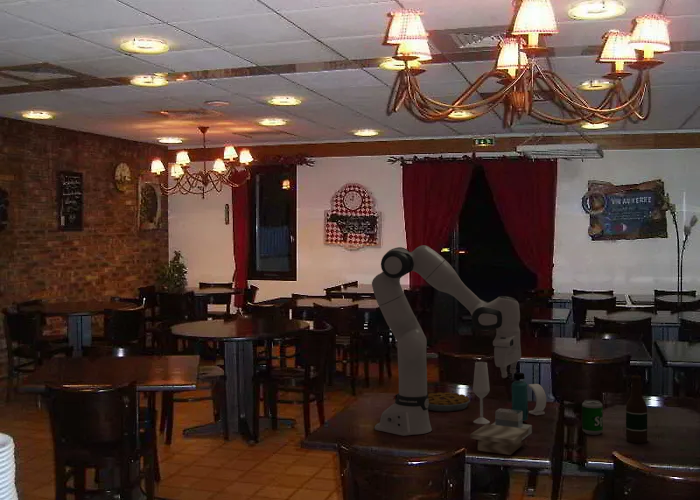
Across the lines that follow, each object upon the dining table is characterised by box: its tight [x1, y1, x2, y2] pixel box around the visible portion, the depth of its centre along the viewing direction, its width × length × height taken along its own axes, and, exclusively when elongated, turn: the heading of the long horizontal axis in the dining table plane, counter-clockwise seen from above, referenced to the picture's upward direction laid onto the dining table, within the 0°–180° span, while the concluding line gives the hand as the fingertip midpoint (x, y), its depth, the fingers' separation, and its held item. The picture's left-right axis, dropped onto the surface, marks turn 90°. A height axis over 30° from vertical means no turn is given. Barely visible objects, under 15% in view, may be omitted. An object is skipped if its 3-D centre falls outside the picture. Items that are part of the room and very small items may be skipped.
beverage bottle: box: [511, 372, 529, 421], centre depth 317 cm, size 6×7×20 cm
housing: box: [494, 407, 524, 428], centre depth 300 cm, size 9×5×6 cm, turn 60°
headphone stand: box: [527, 383, 547, 416], centre depth 331 cm, size 5×6×12 cm
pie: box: [427, 391, 471, 412], centre depth 347 cm, size 22×22×5 cm
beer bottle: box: [625, 374, 648, 444], centre depth 289 cm, size 8×8×24 cm
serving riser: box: [469, 423, 528, 456], centre depth 282 cm, size 16×16×6 cm
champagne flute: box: [472, 361, 491, 425], centre depth 319 cm, size 7×7×24 cm
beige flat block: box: [491, 421, 533, 442], centre depth 300 cm, size 14×12×3 cm
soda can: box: [581, 399, 604, 436], centre depth 301 cm, size 8×8×12 cm
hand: (508, 375), depth 299 cm, fingers open, 8 cm apart
